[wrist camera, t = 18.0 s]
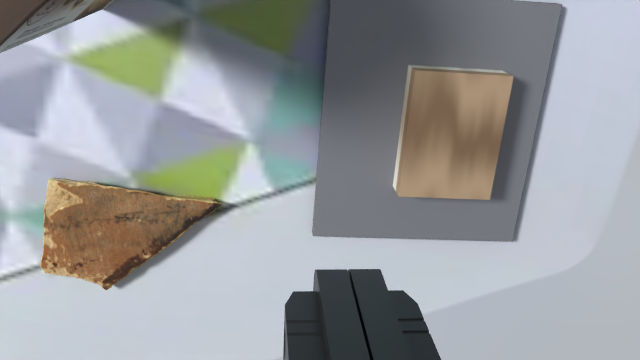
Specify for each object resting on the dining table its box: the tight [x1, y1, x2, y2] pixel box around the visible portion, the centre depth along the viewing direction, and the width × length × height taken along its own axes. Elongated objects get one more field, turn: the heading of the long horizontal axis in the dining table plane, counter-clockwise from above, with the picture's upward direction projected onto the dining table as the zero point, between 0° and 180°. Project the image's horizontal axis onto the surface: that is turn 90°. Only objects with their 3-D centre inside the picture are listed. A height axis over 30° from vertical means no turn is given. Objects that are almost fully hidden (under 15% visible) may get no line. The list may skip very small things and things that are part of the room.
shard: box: [41, 178, 221, 290], centre depth 40 cm, size 11×8×2 cm
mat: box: [312, 0, 562, 241], centre depth 38 cm, size 16×14×1 cm
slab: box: [393, 65, 514, 200], centre depth 38 cm, size 8×2×6 cm
